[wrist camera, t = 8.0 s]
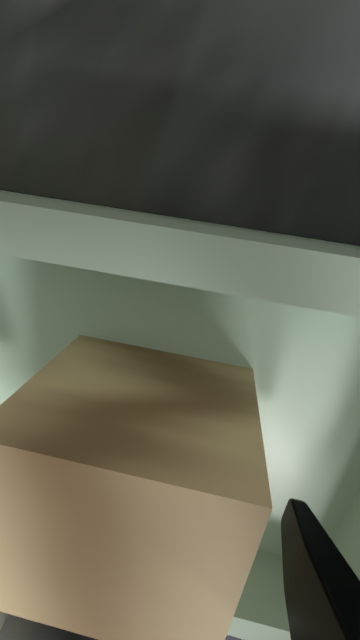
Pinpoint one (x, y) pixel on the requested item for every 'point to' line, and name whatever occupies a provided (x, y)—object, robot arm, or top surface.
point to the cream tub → (3, 619)
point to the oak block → (131, 493)
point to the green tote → (206, 342)
